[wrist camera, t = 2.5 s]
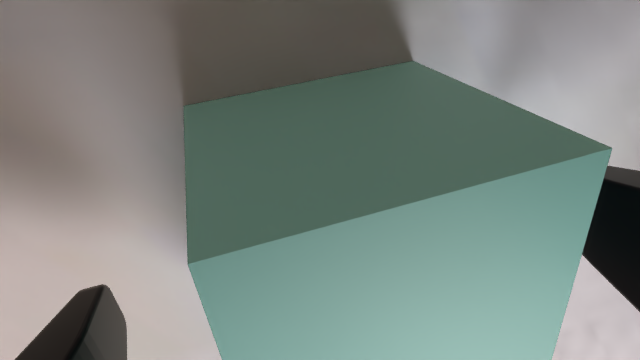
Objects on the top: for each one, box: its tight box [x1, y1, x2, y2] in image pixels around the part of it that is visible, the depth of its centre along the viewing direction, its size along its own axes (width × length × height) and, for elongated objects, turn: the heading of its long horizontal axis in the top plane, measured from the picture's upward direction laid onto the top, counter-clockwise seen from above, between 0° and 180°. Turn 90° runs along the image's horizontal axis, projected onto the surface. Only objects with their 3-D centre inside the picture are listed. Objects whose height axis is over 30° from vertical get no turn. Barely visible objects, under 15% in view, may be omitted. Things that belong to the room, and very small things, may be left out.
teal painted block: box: [184, 61, 612, 360], centre depth 8 cm, size 5×5×5 cm
